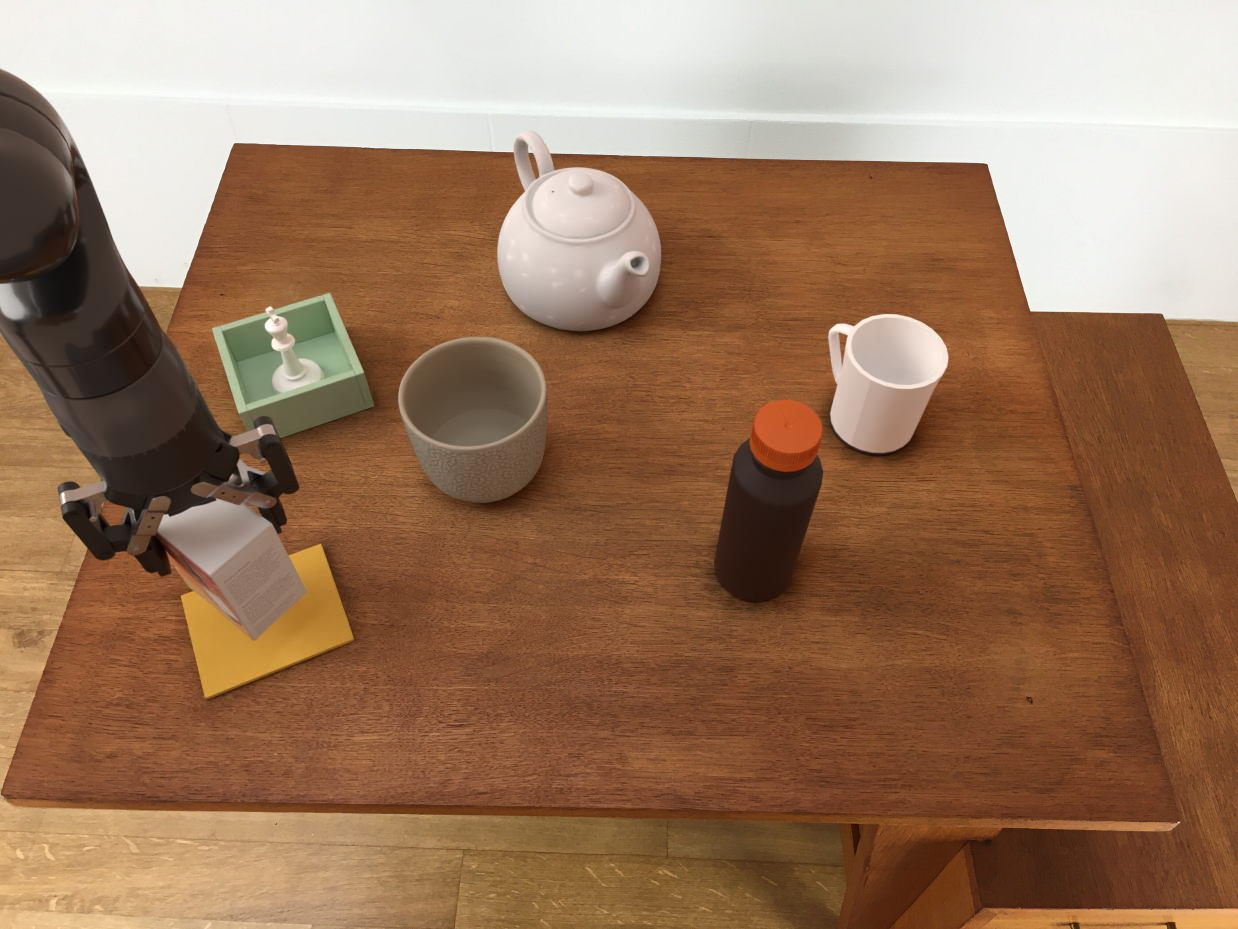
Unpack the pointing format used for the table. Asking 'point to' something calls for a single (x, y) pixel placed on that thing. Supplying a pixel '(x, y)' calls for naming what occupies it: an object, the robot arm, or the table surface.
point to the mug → (883, 380)
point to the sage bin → (314, 340)
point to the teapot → (576, 245)
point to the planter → (476, 417)
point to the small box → (233, 563)
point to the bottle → (769, 501)
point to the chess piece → (289, 358)
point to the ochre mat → (268, 631)
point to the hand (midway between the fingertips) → (220, 545)
